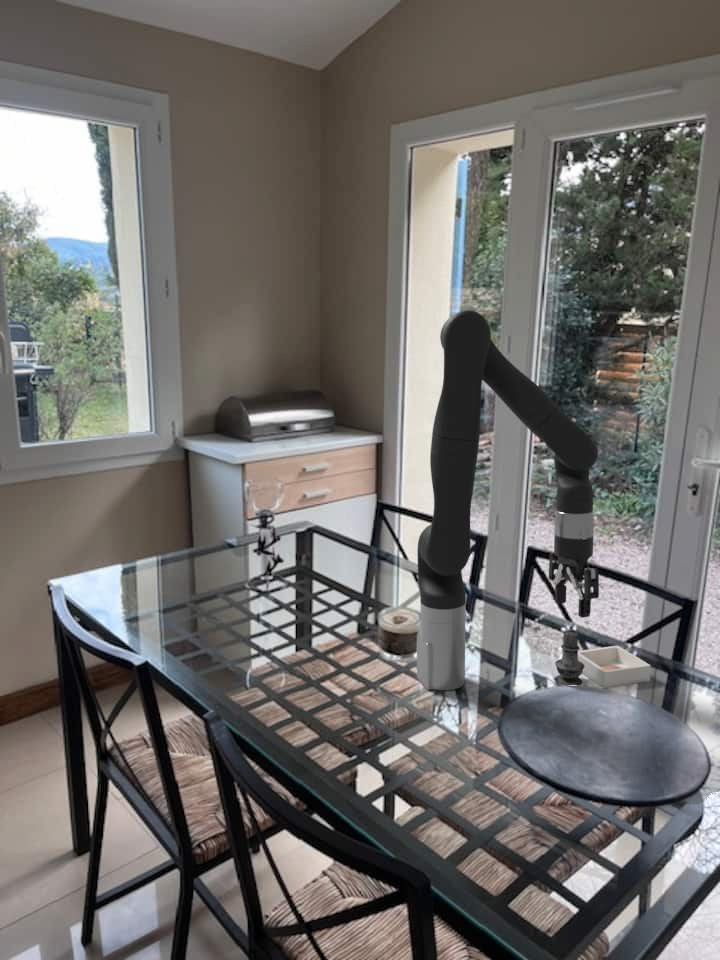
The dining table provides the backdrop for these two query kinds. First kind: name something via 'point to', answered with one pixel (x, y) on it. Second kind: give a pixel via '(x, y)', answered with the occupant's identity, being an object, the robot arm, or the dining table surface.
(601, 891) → the dining table surface
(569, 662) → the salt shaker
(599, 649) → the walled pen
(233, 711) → the dining table surface
